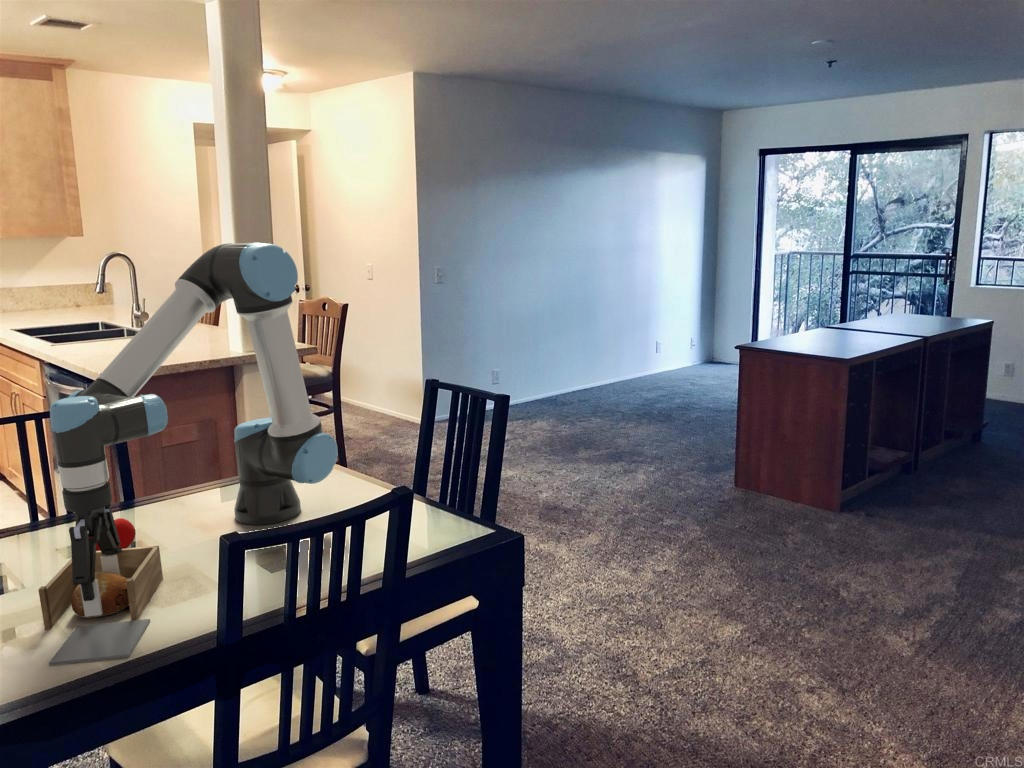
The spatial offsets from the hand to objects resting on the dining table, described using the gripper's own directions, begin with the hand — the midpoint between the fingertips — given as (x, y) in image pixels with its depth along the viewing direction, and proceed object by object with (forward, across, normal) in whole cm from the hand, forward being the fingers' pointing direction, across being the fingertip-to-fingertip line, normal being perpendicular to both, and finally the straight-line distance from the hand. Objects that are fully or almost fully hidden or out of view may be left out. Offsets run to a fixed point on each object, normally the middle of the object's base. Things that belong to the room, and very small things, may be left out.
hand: (104, 601), depth 146 cm
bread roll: (+1, 0, 0) cm, 1 cm away
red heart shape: (+2, -19, -4) cm, 19 cm away
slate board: (+1, +13, +4) cm, 14 cm away
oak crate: (+1, -2, 0) cm, 3 cm away
